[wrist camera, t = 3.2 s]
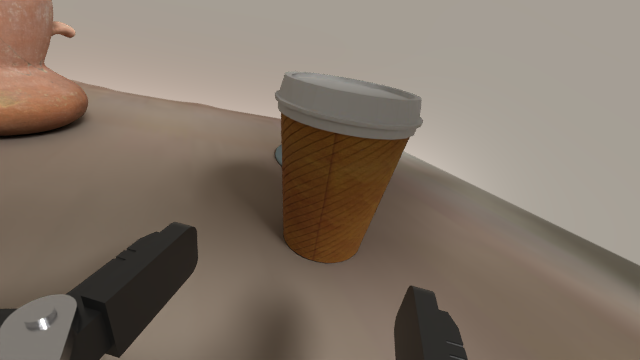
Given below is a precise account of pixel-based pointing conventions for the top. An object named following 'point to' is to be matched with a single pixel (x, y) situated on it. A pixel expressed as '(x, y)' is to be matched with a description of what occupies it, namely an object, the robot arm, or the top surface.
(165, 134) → the top surface
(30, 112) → the ceramic jug
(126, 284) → the robot arm
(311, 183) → the disposable coffee cup
